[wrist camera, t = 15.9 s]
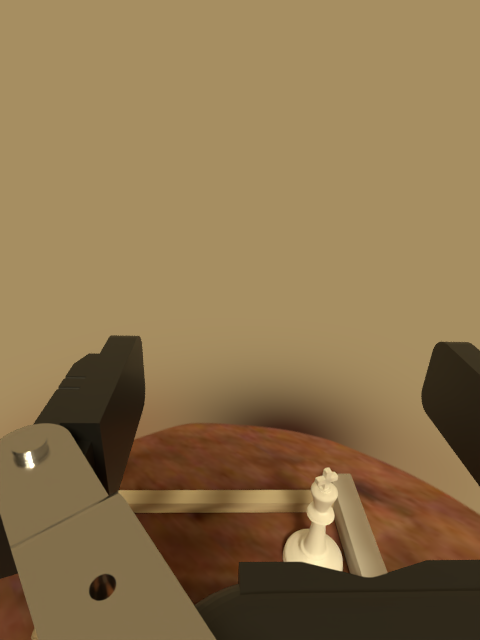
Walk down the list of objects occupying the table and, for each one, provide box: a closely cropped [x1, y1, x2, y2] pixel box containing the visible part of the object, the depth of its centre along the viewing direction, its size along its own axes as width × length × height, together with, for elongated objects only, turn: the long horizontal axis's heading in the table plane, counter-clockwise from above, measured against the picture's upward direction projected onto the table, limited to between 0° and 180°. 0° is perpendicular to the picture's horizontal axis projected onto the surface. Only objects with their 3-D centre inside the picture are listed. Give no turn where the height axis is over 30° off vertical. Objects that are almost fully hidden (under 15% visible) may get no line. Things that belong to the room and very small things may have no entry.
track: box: [31, 474, 387, 640], centre depth 32 cm, size 25×14×2 cm, turn 92°
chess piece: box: [283, 468, 343, 571], centre depth 31 cm, size 5×5×10 cm
